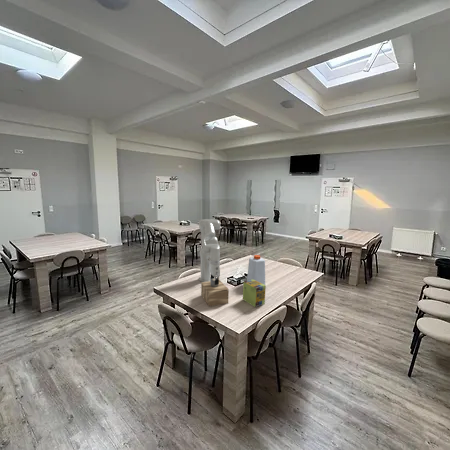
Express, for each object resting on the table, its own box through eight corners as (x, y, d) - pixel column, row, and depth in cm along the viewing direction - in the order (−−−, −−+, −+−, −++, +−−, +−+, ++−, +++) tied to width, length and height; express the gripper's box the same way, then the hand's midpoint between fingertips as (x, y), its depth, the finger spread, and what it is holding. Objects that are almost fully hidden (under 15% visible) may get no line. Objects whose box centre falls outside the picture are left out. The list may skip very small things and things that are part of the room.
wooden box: (201, 295, 200) (201, 283, 199) (219, 292, 207) (219, 280, 205) (209, 306, 182) (209, 293, 181) (228, 303, 189) (228, 290, 187)
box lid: (201, 283, 199) (201, 282, 199) (219, 280, 205) (219, 279, 205) (209, 293, 181) (209, 292, 181) (228, 289, 187) (228, 288, 187)
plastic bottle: (258, 280, 235) (260, 252, 231) (267, 286, 222) (268, 257, 217) (245, 282, 229) (246, 254, 225) (252, 288, 216) (254, 258, 211)
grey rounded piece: (209, 284, 194) (209, 278, 194) (216, 283, 197) (216, 277, 196) (212, 287, 189) (212, 281, 188) (219, 286, 191) (219, 280, 190)
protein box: (255, 307, 183) (256, 288, 180) (242, 299, 195) (243, 281, 192) (265, 303, 189) (266, 285, 186) (251, 296, 201) (252, 278, 198)
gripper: (223, 264, 183) (223, 285, 186) (215, 258, 199) (215, 277, 202) (214, 265, 180) (213, 287, 183) (206, 259, 196) (206, 278, 199)
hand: (214, 282), depth 192 cm, fingers open, 9 cm apart
